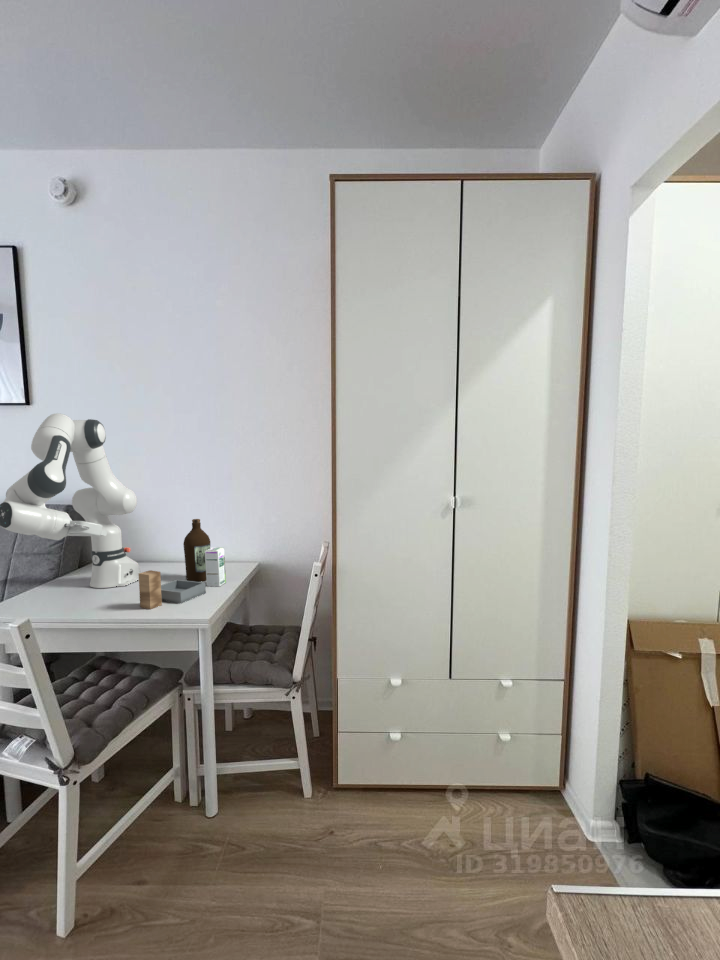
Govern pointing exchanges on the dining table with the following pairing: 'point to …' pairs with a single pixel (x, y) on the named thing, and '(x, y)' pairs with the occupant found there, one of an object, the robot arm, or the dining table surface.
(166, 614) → the dining table surface
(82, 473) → the robot arm
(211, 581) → the syrup box
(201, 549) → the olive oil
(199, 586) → the bin
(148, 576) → the wooden block
